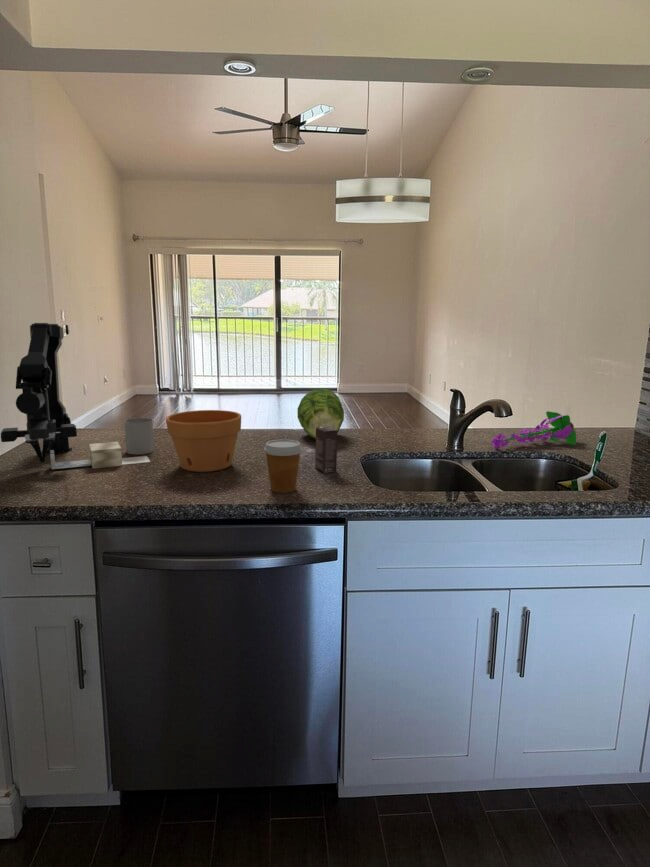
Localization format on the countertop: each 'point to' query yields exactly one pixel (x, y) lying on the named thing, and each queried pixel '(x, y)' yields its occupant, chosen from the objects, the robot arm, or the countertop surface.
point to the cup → (139, 435)
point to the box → (326, 449)
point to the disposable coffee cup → (283, 464)
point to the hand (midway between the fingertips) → (42, 462)
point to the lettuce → (320, 411)
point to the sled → (68, 464)
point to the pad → (135, 460)
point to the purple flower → (561, 430)
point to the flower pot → (204, 438)
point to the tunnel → (105, 454)
